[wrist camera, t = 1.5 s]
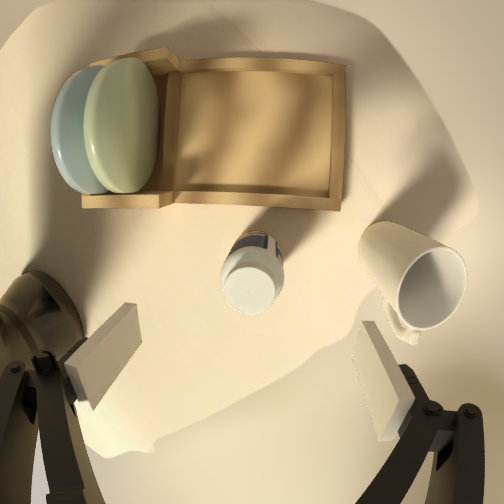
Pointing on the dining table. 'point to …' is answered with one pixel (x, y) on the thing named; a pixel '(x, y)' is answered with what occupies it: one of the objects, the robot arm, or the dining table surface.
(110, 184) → the plate sage
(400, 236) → the mug
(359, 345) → the robot arm
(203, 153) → the dish rack
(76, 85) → the plate blue
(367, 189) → the dining table surface
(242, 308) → the pill bottle
